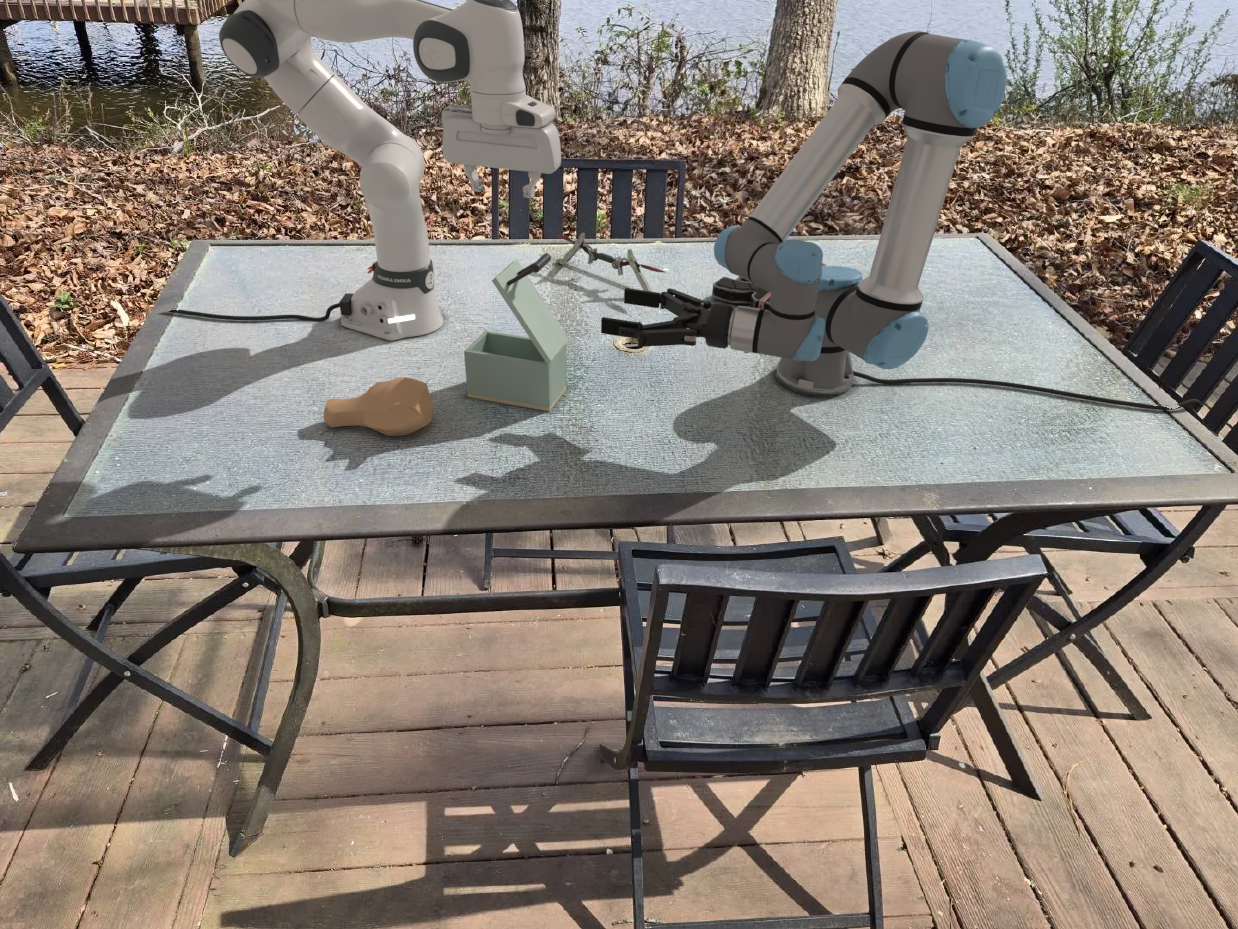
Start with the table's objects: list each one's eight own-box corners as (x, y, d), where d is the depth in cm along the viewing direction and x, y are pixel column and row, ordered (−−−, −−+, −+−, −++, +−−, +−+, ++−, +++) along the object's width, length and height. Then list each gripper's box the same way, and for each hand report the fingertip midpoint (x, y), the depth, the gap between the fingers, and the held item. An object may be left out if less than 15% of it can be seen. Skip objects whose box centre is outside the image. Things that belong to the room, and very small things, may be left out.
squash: (434, 443, 155) (421, 404, 149) (325, 451, 157) (307, 413, 150) (443, 403, 163) (431, 365, 157) (339, 412, 164) (323, 374, 158)
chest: (467, 396, 169) (463, 351, 163) (487, 374, 177) (485, 330, 171) (549, 411, 165) (548, 365, 160) (567, 388, 173) (566, 343, 167)
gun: (708, 284, 207) (784, 305, 199) (760, 245, 229) (831, 262, 221) (706, 302, 209) (781, 323, 201) (758, 261, 231) (828, 278, 223)
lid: (491, 280, 154) (527, 259, 150) (512, 261, 161) (547, 241, 157) (546, 363, 160) (582, 345, 155) (564, 341, 167) (599, 323, 163)
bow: (666, 301, 209) (668, 260, 204) (661, 303, 208) (663, 262, 203) (554, 258, 231) (553, 221, 225) (549, 260, 229) (548, 222, 224)
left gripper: (431, 106, 142) (439, 192, 150) (550, 117, 137) (551, 205, 145) (449, 98, 147) (456, 182, 155) (564, 109, 142) (565, 195, 150)
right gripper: (714, 379, 142) (591, 359, 147) (742, 319, 162) (632, 302, 167) (718, 337, 138) (591, 317, 143) (747, 280, 158) (634, 265, 163)
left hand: (503, 193), depth 150 cm, fingers open, 8 cm apart
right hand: (613, 309), depth 155 cm, fingers open, 13 cm apart
